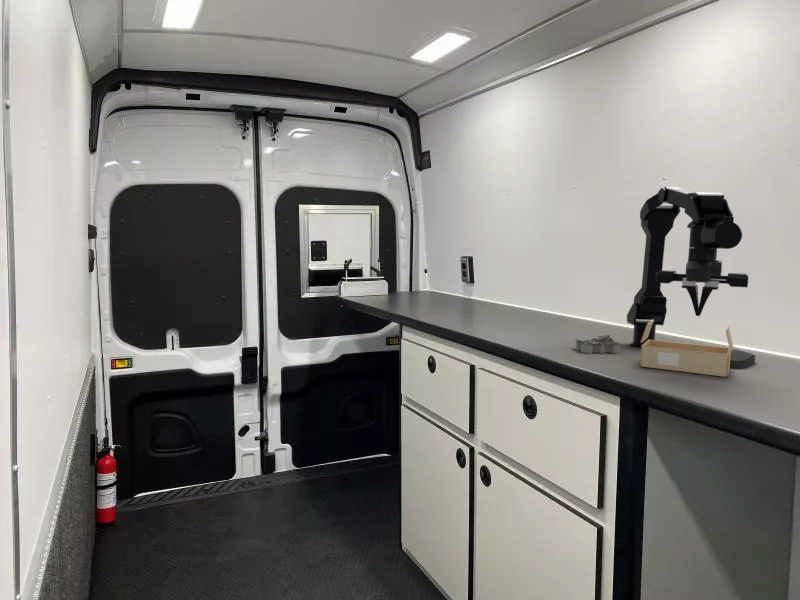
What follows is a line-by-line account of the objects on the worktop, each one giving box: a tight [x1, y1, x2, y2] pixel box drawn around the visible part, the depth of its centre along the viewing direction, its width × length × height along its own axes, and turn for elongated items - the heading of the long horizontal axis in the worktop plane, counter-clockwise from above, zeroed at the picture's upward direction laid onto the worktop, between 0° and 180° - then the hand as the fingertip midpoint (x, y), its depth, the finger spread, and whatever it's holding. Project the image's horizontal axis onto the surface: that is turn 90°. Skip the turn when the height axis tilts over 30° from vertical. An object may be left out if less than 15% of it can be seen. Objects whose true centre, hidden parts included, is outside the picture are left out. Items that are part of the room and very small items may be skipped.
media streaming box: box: [730, 348, 756, 370], centre depth 143 cm, size 15×15×3 cm
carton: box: [639, 339, 731, 378], centre depth 134 cm, size 11×18×5 cm, turn 58°
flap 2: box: [725, 325, 734, 352], centre depth 129 cm, size 8×1×5 cm, turn 148°
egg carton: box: [574, 334, 621, 354], centre depth 154 cm, size 11×8×4 cm
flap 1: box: [641, 319, 654, 342], centre depth 138 cm, size 8×1×5 cm, turn 148°
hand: (697, 315), depth 132 cm, fingers closed
